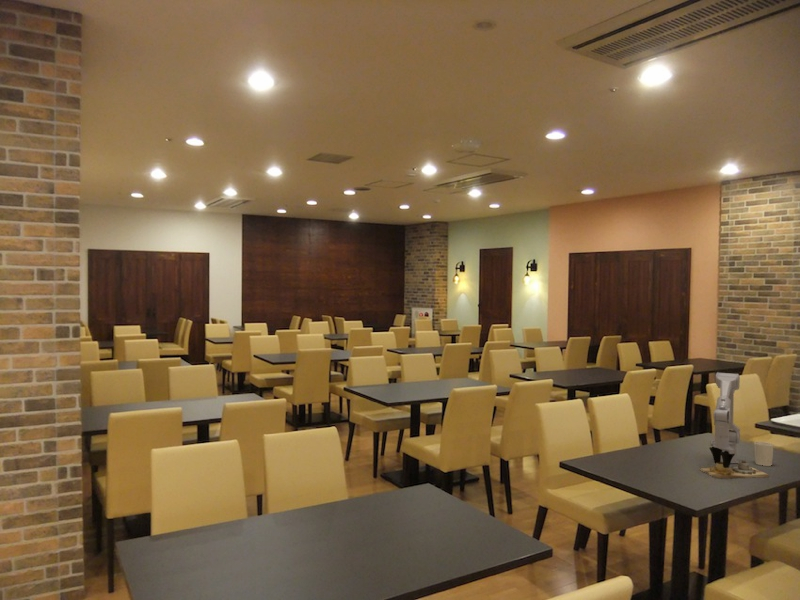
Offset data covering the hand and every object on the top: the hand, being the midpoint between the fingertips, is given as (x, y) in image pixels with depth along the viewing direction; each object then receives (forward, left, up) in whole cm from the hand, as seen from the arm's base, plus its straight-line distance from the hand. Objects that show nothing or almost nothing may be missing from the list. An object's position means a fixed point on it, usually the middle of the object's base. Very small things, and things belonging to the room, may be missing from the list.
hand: (721, 465), depth 265 cm
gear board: (0, +6, -4) cm, 7 cm away
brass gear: (0, 0, -3) cm, 3 cm away
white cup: (-13, +30, -4) cm, 33 cm away
